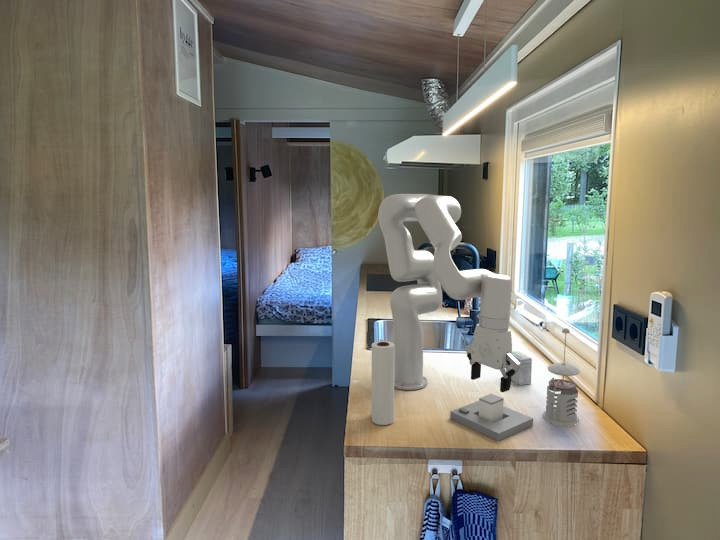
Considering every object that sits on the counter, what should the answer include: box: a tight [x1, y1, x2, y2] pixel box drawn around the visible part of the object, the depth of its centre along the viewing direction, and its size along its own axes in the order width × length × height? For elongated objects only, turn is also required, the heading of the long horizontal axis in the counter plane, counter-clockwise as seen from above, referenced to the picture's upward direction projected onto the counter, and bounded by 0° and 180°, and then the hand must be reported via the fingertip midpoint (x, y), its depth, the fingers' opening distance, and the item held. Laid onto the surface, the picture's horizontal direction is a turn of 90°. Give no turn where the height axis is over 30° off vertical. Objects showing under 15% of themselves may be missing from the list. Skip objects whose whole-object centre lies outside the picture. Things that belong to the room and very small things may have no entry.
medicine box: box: [505, 350, 533, 386], centre depth 163 cm, size 8×4×9 cm, turn 16°
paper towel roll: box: [371, 339, 395, 426], centre depth 134 cm, size 7×6×21 cm
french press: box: [541, 327, 581, 427], centre depth 134 cm, size 10×12×25 cm
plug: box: [478, 393, 505, 423], centre depth 134 cm, size 4×5×6 cm
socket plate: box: [449, 400, 534, 442], centre depth 134 cm, size 16×14×3 cm
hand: (489, 384), depth 133 cm, fingers open, 9 cm apart
